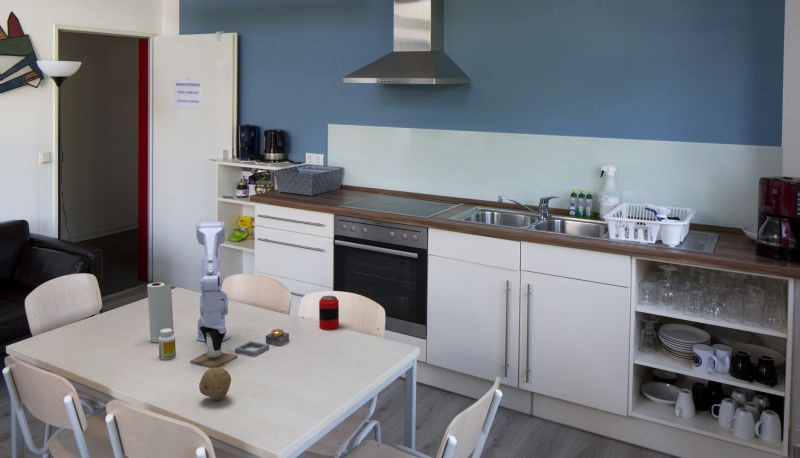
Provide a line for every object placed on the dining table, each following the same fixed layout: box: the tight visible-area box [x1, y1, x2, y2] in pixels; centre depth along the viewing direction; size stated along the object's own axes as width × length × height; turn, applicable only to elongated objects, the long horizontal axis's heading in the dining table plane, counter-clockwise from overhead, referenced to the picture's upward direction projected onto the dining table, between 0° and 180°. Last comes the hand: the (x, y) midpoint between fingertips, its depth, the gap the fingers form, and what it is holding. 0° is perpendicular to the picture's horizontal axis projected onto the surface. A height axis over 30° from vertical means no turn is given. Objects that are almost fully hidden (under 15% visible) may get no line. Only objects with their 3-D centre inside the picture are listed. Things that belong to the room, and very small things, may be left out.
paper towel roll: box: [146, 282, 175, 344], centre depth 250 cm, size 7×6×21 cm
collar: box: [234, 340, 270, 358], centre depth 243 cm, size 8×8×2 cm
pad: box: [189, 351, 238, 369], centre depth 234 cm, size 11×11×1 cm
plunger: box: [270, 328, 284, 336], centre depth 251 cm, size 4×4×3 cm
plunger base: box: [265, 331, 290, 347], centre depth 251 cm, size 6×6×3 cm
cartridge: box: [206, 330, 222, 357], centre depth 233 cm, size 5×5×8 cm
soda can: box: [318, 295, 340, 331], centre depth 268 cm, size 8×8×12 cm
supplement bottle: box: [158, 329, 177, 361], centre depth 236 cm, size 5×5×10 cm
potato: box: [198, 367, 232, 401], centre depth 203 cm, size 9×9×10 cm
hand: (213, 348), depth 233 cm, fingers closed on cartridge, 4 cm apart
